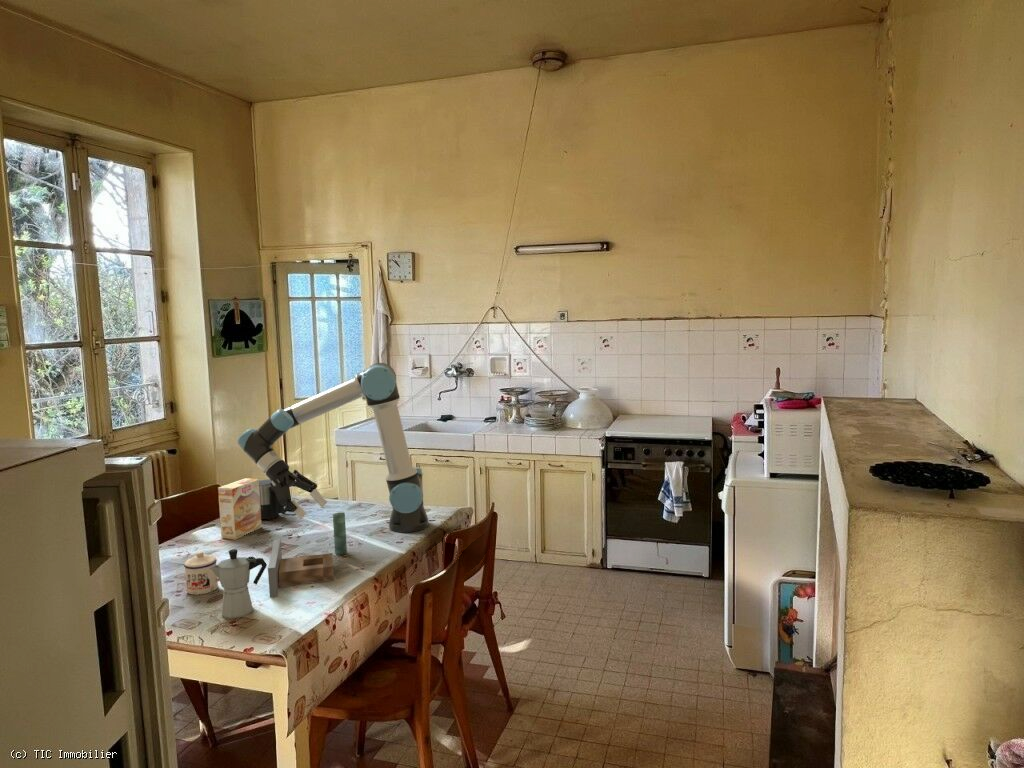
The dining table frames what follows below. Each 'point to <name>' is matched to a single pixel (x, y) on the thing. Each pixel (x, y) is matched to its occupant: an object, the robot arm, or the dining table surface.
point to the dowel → (339, 533)
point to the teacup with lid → (200, 574)
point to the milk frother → (269, 501)
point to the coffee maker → (237, 583)
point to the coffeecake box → (239, 508)
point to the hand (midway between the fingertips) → (314, 510)
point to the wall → (274, 568)
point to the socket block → (306, 569)
